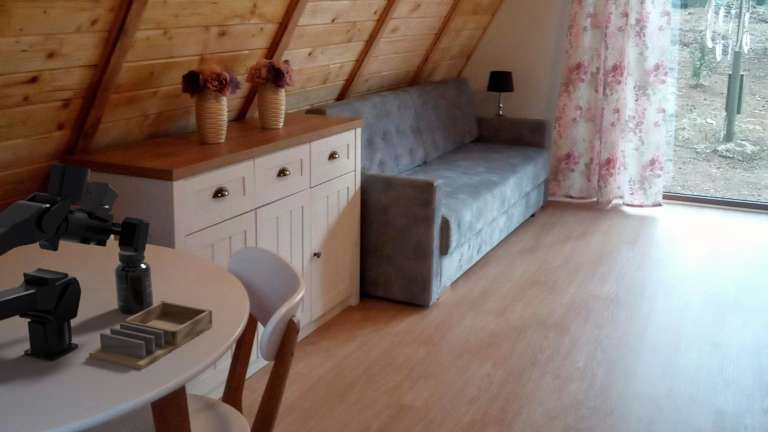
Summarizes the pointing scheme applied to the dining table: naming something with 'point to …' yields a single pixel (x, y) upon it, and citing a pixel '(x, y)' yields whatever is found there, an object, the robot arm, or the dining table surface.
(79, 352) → the dining table surface
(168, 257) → the dining table surface
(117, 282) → the supplement bottle
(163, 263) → the dining table surface
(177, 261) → the dining table surface
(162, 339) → the wooden desk organizer
